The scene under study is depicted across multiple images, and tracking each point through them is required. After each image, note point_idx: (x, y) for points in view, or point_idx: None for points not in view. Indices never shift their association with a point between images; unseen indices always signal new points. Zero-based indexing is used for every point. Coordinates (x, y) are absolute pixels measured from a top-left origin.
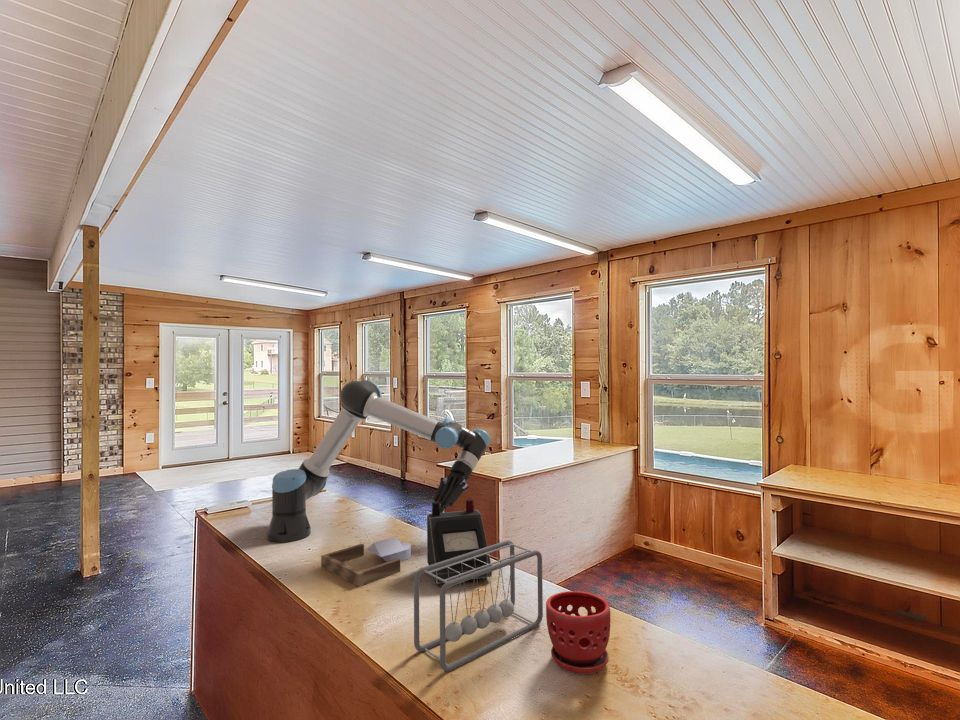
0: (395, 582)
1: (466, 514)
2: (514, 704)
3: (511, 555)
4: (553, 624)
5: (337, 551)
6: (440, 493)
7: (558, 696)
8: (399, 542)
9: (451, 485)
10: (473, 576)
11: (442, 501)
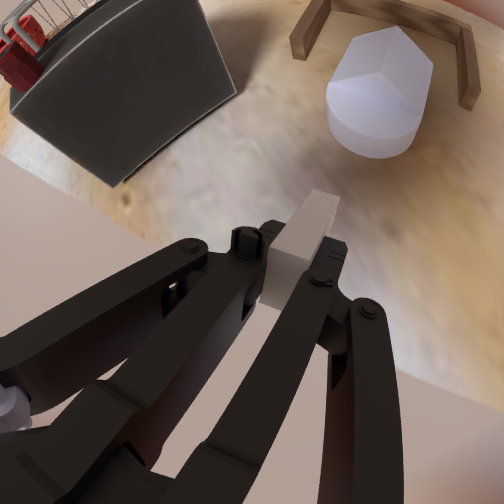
0: (268, 29)
1: (47, 52)
2: (84, 8)
3: (24, 31)
4: (34, 39)
5: (470, 43)
6: (341, 406)
7: (59, 28)
8: (356, 75)
9: (101, 399)
10: None
11: (232, 230)
